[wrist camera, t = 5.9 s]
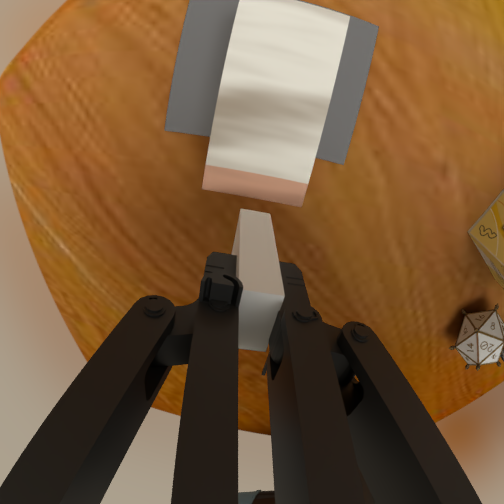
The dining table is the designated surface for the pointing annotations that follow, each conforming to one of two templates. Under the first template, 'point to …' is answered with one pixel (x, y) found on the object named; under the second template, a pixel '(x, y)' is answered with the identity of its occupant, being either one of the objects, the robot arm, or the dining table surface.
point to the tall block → (274, 99)
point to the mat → (212, 64)
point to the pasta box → (491, 237)
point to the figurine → (502, 355)
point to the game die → (481, 338)
